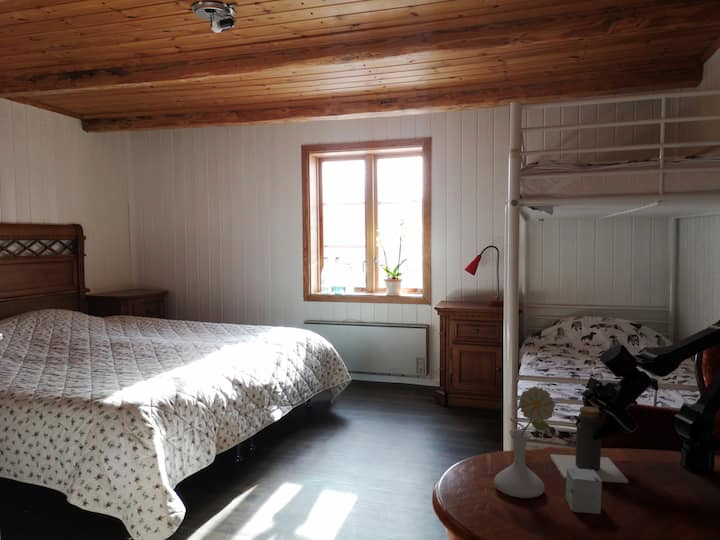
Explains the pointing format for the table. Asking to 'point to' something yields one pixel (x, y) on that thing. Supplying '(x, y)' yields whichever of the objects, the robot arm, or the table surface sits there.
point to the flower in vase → (518, 475)
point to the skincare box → (583, 490)
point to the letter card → (605, 473)
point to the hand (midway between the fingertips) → (584, 432)
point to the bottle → (588, 439)
